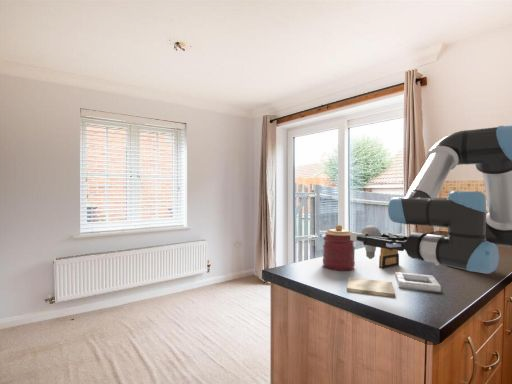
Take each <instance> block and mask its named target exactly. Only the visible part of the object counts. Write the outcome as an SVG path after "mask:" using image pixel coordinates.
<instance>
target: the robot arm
mask: <svg viewBox="0 0 512 384" xmlns="http://www.w3.org/2000/svg"><path fill="white" fill-rule="evenodd" d="M425 160H426V161H425V162H424V164H423V165H422V167H421V169H420V171H419V172H418V174H417V175H416V176H415V178H414V180H413V182H412V183H411V185H410V187H409V188H408V189H407V192H406V193H405V194H404V195H403V196H397V197H395V196H394V197H392V198H391V199H390V200H389V202H388V207H387V213H388V214H387V215H388V217H389V220H391V221H392V222H393V223H397V224H404V225H411V226H412V225H414V226H428V227H437V228H438V227H439V228H447V235H442V234H441V235H440V234H431V233H428V234H427V233H423V232H414V231H413V232H412V233H410V234H409V235H408V236H407V235H402V234H395V233H390V232H389V233H381V232H380V233H381V237H375V236H368V233H365V234H361V232H360V233H359V232H353V231H350V240H352V241H354V242H357V243H362V244H363V246H365V245H369V246H374V247H376V248H380V249H381V248H385V249H388V250H393V249H397V250H398V252H400V251H401V252H404V251H405V252H406V253H407V255H408V257H409V258H410V259H414V260H418V261H423V262H425V261H426V262H427V263H428V262H429V263H434V265H435V266H440V265H444V266H447V267H450V268H455V269H460V270H465V271H467V272H475V273H482V274H492V273H493V272H495V271H496V269H497V268H498V265H499V261H500V253H499V248H498V246H499V247H508V248H512V125H499V126H497V127H495V126H494V127H486V128H477V129H468V130H460V131H456V132H453V133H450V134H448V135H447V136H444V137H443V138H442V139H440V140H438V141H437V142H436V143H434V145H433V146H431V147H430V149H429V150H428V152H427V154H426V157H425ZM460 165H461V166H462V165H475V169H476V170H477V171H478V172H480V173H482V178H483V184H484V190H485V193H483V192H482V191H464V190H463V191H458V190H457V191H453V190H452V191H450V192H448V196H447V197H437V196H438V195H439V193H440V191H441V188H442V187H443V185H444V183H445V181H446V179H447V178H448V175H449V174H450V172H451V170H453V169H455V168H456V167H457V166H460ZM486 201H487V202H486ZM486 204H487V205H486ZM487 207H488V210H487ZM487 212H488V213H487Z"/></svg>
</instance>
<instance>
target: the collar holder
mask: <svg viewBox="0 0 512 384" xmlns="http://www.w3.org/2000/svg"><path fill="white" fill-rule="evenodd" d="M394 273H395V276H394V277H395V281H396V283H397V286H398V288H399V289H407V290H408V289H409V290H418V291H424V292H425V291H426V292H434V293H435V292H436V293H442V292H441V291H442V285H441V284H440V283H439V282H438V280H437V279H436V278H435V277H434V275H432V274H431V275H430V274H421V273H412V272H411V273H410V272H401V271H395V272H394Z"/></svg>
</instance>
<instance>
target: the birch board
mask: <svg viewBox="0 0 512 384" xmlns="http://www.w3.org/2000/svg"><path fill="white" fill-rule="evenodd" d="M346 292H350V293H351V292H352V293H359V294H360V293H361V294H369V295H375V296H383V297H391V298H396V292H395V289H394V285H393V281H387V280H379V279H377V280H376V279H369V278H368V279H367V278H358V277H350V276H349V277H348V279H347V286H346Z"/></svg>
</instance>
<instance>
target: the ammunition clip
mask: <svg viewBox="0 0 512 384" xmlns="http://www.w3.org/2000/svg"><path fill="white" fill-rule="evenodd" d="M378 263H379V266H378V267H379V268H380V269H388V268H391V267H397V266H399V265H400V254H399V251H398V250H397V249H393V250H388V249H385V248H380V255H379V261H378Z"/></svg>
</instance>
